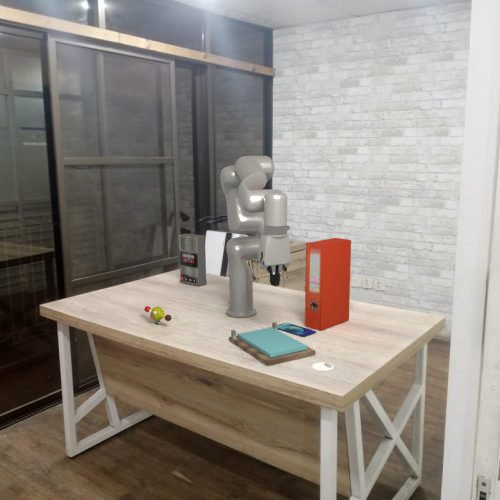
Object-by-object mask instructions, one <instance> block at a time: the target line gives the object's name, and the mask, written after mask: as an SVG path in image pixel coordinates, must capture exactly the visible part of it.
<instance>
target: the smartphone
mask: <svg viewBox="0 0 500 500" xmlns="http://www.w3.org/2000/svg"><path fill="white" fill-rule="evenodd" d="M277 330H278V331H280V332H284V333H288V334H291V335H294V336H297V337H300V338H306V337H309V336H312V335H315V334H316V333H317V330H315V329H311V328H308V327H304V326H300V325H297V324H294V323H290V322H283V323H281V324H277Z"/></svg>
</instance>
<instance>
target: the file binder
mask: <svg viewBox="0 0 500 500" xmlns="http://www.w3.org/2000/svg"><path fill="white" fill-rule="evenodd" d="M351 255H352V240H351V239H346V238H339V237H331V238H326V239H322V240H317V241H310V242H306V243H305V286H304V288H305V291H304V293H305V294H304V296H305V298H304V299H305V300H304V302H305V303H304V326H305V328H307V329H311V330H314V331H319V332H323V331H325V330H328V329H330V328H333V327H335V326H338V325H341V324H344V323H346V322H348V321H350V295H351V293H350V292H351V291H350V290H351V289H350V288H351V264H352V263H351V262H352V261H351V258H352V256H351Z"/></svg>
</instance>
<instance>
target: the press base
mask: <svg viewBox="0 0 500 500" xmlns="http://www.w3.org/2000/svg"><path fill="white" fill-rule="evenodd" d="M277 325H278V323H277V322H276V321H272V322H271V327H272V328H274V329H276V330H278V329H277ZM228 339H229V342H230V343H231V344H233V345H235V346H236V347H237V348H239V349H240V350H242V351H244V352H245V353H247V354H248V355H250V356H251V357H252V358H254V359H255V360H257V361H259V362H260V361H261V362H260V363H262V364H263V365H264V366H266V365H267V366H266V367H270V365H271V366H276V365H279V364H283V363H287V362H291V361H295V360H300V359H304V358H310V357H313V356H316V350H315V349H313V348H312V347H309V346H307V350H302V351H298V352H293V353H289V354H284V355H280V356H275V357H271V358H270V357H268V356H267V355H265V354H263V353H262V352H260V351H259V350H257V349H255V348H254V347H252V346H251V345H249V344H247V343H246V342H244V341H243V340H241V339H239V338H238V337H237V330H235V329H231V330H230V336H229V337H228Z"/></svg>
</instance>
